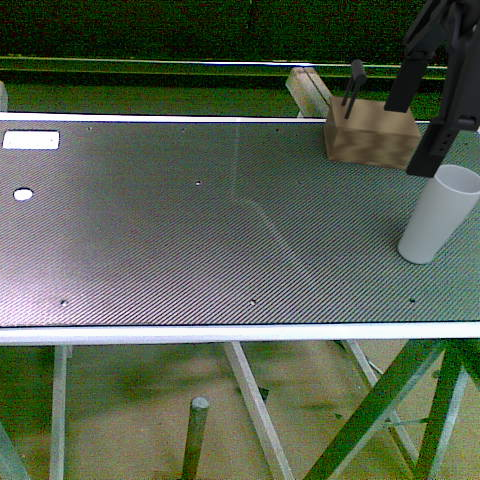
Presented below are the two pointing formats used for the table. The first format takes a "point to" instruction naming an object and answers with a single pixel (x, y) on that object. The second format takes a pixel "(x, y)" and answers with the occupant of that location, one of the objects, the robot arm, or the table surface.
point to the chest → (367, 147)
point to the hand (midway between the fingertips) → (405, 140)
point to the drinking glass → (439, 212)
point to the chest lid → (369, 112)
